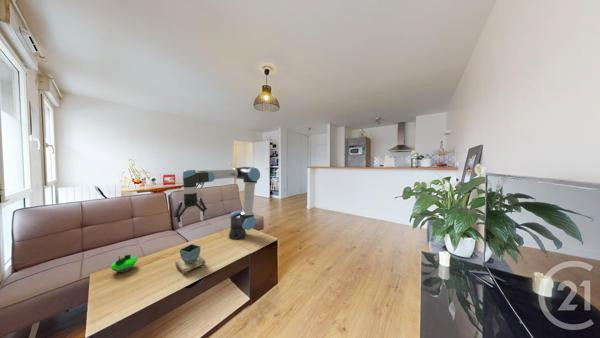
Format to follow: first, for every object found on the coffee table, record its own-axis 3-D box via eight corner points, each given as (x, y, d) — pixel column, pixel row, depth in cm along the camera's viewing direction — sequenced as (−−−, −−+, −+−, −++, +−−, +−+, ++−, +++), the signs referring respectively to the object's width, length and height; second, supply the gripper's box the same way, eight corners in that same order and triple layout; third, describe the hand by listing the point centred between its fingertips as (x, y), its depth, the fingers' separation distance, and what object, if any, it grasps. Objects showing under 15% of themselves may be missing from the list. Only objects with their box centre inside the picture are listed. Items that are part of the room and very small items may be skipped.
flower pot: (179, 263, 116) (179, 249, 116) (191, 256, 124) (191, 243, 124) (189, 266, 113) (188, 252, 113) (201, 259, 121) (200, 246, 121)
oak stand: (196, 259, 128) (196, 253, 128) (205, 266, 120) (205, 260, 120) (175, 268, 118) (175, 262, 117) (183, 276, 110) (183, 269, 110)
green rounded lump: (128, 275, 110) (127, 258, 109) (105, 276, 108) (105, 259, 108) (141, 263, 122) (141, 248, 121) (122, 264, 120) (121, 249, 119)
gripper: (206, 189, 133) (207, 217, 135) (166, 195, 113) (168, 228, 115) (211, 190, 129) (212, 219, 131) (171, 197, 109) (173, 230, 110)
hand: (191, 223), depth 123 cm, fingers open, 13 cm apart
